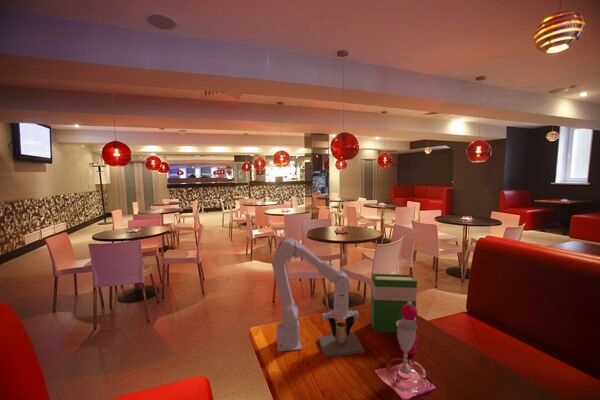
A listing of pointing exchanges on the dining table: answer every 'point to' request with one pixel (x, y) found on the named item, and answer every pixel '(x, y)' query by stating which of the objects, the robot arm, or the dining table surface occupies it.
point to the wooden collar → (340, 331)
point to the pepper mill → (410, 314)
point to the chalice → (406, 340)
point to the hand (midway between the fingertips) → (340, 334)
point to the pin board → (340, 345)
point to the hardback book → (390, 300)
